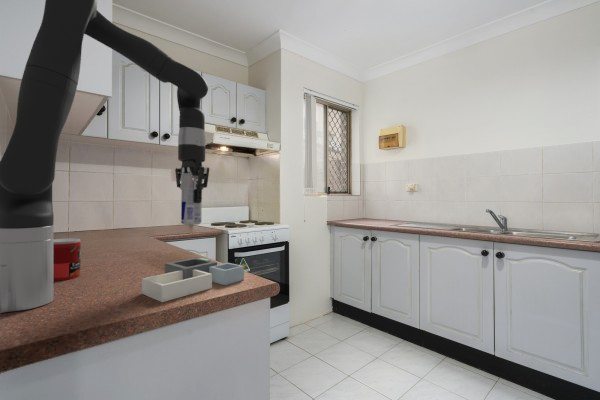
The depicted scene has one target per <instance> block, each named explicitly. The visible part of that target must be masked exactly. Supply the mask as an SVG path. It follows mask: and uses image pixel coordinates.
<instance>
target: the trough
mask: <svg viewBox="0 0 600 400" xmlns="http://www.w3.org/2000/svg"><path fill="white" fill-rule="evenodd" d="M212 288H213V282H212V274H211V273H207V272H203V271H200V270H196V269H195V270H193V278H188V279H184V280H183V271H182V270H180V271H175V272H170V273H166V274H165V273H162V274H158V275H157V274H156V275H151V276H147V277H142V278H141V294H142V295H144V296H147V297H149V298H150V299H153V300H156V301H159V302H160V303H165V302H168V301H172V300H175V299H179V298H182V297H185V296H190V295H192V294H196V293H199V292H204V291H207V290H210V289H212Z"/></svg>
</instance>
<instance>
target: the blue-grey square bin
mask: <svg viewBox="0 0 600 400" xmlns="http://www.w3.org/2000/svg"><path fill="white" fill-rule="evenodd" d="M209 273H211V274H212V283H216V284H219V285H223V286H228V285H231V284H234V283H238V282H241V281H245V266H244V265H241V264H235V263H231V262H225V263H222V264H221V263H220V264H217V265H216V266H211V267H209Z"/></svg>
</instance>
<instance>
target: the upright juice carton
mask: <svg viewBox="0 0 600 400" xmlns="http://www.w3.org/2000/svg"><path fill="white" fill-rule="evenodd" d="M193 176H194V175H193ZM194 178H195V179H198V176H194ZM196 183H197V184H198V182H196ZM193 190H195V189H194V187H193V182H191V173H183V174H182V190H181V204H180V205H181V212H180V214H181V215H180V216H181V217H180V220H181V221H180V222H181V224H182V225H185V226H197V225H200V224H202V206H203V205H202V202H203V201H202V200H203V199H202V200H201V203H194V202H193Z"/></svg>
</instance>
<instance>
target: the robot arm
mask: <svg viewBox="0 0 600 400" xmlns="http://www.w3.org/2000/svg"><path fill="white" fill-rule="evenodd" d="M44 2H45V3H44V8H43V16H42V20H41V23H40V26H39V29H38V31H37V33H36V36H35V39H34V41H33V44H32V47H31V49H30V53H29V55H28V58H27V61H26V64H25V67H24V69H23V70H24V71H23V73H22V77H21V82H20V86H19V89H18V90H19V92H18V97H17V105H16V108H17V109H16V120H15V125H14V128H13V131H12V134H11V137H10V139H9V142H8V143H7V146H6V148H5V151H4V153H3V155H2V157H1V159H0V314H3V313H8V312H18V311H19V312H20V311H26V310H30V309H35V308H39V307H42V306H45V305H48V304H50V303H51V302H53V301H54V292H55V290H54V281H53V239H54V221H55V220H54V215H55V214H54V207H53V183H54V180H55V176H56V163H57V162H56V161H57V153H58V147H59V141H60V136H61V134H62V130H63V128H64V127H65V124H66V122H67V120H68V117H69V115H70V112H71V109H72V106H73V103H74V100H75V97H76V92H77V89H78V88H77V87H78V84H79V79H80V71H81V63H82V62H81V61H82V50H83V49H82V48H83V41H84V35H86V36H88V37H90V38H92V39H93V40H95V41H97V42H99V43H101V44H102V45H104V46H106V47H108V48H110V49H112V50H113V51H114V52H116V53H119V54H120V55H121V56H123V57H124V58H126V59H127V60H129V61H130V62H132V63H134V64H135V65H137V66H138V67H139V68H140V69H142V70H144V71H145V72H147V73H148V74H149V75H151V76H153V78H155V79H156V80H158V81H160V82H161V83H164V84H167V83H170V84H172V85H174V86H175V87H177V89H176V97H177V98H176V99H177V107H178V111H179V116H178V119H179V121H178V124H179V125H178V127H179V129H178V137H177V138H178V139H177V140H178V141H177V159H178V161H179V162H181V163H182V164H181V167H180V168H177V167H176V168H175V181H176V188H179V189H180V190H181V191H182V174H183V173H191V182H193V187H194V189H195V190H193V202H194V203H201V200H203V197H202V195H203V190H204V188H205V189H206V188H208V181H209V175H210V167H209V166H203V163H204V162H205V161H206V134H205V133H206V132H205V121H206V120H205V113H204V112H203V111H202V108H201V101H202V99H204V98H205V97H206V96H207V94H208V92H209V85H208V83H207V81H206V79H205V78H204V77H203V76H202V75H201V74H200V73H199V72H197V71H195V70H194V69H193V68H190V67H189V66H187V65H185V64H183V63H181V62H179V61H176V60H174V59H173V58H172V57H171V56H169V55H168V54H167V53H166V52H164V51H163V50H162V49H161V48H159V47H158V46H156V45H155V44H153V43H152V42H150V41H149V40H147V39H144V38H142V37H141V36H138V35H136V34H133V33H131V32H129V31H126V30H124V29H122V28H121V27H119V26H117V25H116V24H114V23H113V22H112V21H110V20H109V19H107V17H105V16H104V14H102V13H101V12H99V10H97V8H98V0H45V1H44ZM193 175H194V176H198V179H195V178H194V176H193ZM196 182H198V184H197V183H196Z"/></svg>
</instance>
